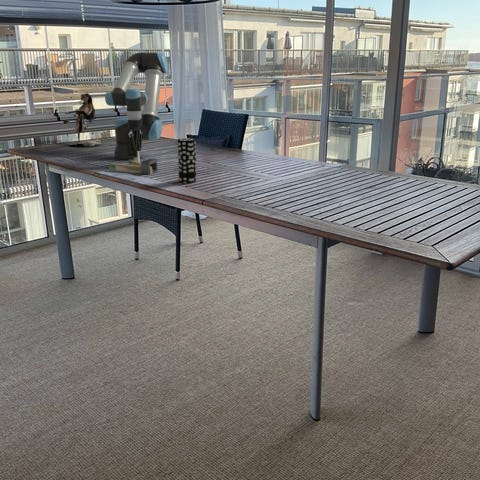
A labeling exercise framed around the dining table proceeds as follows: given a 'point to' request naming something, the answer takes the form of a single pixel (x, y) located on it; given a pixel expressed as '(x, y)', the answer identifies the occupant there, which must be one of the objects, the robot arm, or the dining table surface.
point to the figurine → (86, 113)
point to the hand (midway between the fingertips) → (137, 162)
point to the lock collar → (146, 164)
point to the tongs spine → (127, 168)
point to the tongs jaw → (134, 162)
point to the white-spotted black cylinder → (187, 160)
